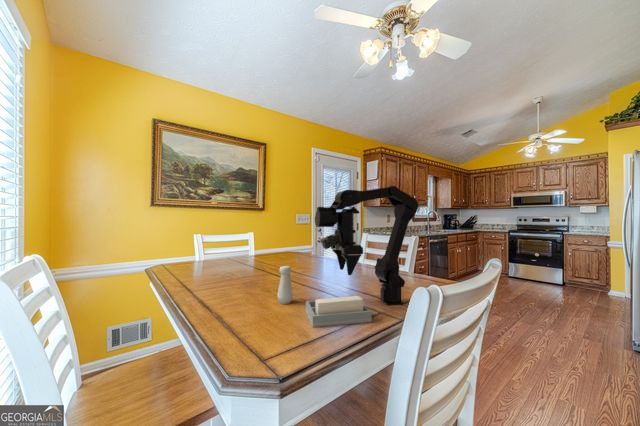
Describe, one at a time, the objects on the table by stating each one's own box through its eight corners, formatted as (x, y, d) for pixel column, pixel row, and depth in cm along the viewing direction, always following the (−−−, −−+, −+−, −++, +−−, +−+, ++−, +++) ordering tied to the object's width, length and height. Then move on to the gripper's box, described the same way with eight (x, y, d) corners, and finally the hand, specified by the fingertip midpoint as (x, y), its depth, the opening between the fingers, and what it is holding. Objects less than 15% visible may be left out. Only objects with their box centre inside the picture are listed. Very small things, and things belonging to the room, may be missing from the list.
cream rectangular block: (358, 311, 79) (358, 295, 79) (363, 316, 76) (363, 299, 76) (315, 316, 76) (315, 299, 76) (318, 320, 72) (318, 303, 72)
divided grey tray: (356, 306, 87) (356, 297, 87) (371, 321, 74) (371, 311, 74) (305, 310, 83) (305, 301, 84) (312, 327, 70) (312, 316, 70)
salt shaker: (285, 305, 88) (285, 268, 88) (274, 302, 91) (274, 266, 92) (296, 301, 92) (296, 266, 93) (285, 298, 96) (285, 264, 96)
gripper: (317, 226, 94) (317, 268, 94) (328, 227, 76) (329, 279, 76) (345, 226, 96) (346, 266, 96) (363, 227, 78) (364, 277, 78)
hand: (345, 272), depth 86 cm, fingers open, 9 cm apart
